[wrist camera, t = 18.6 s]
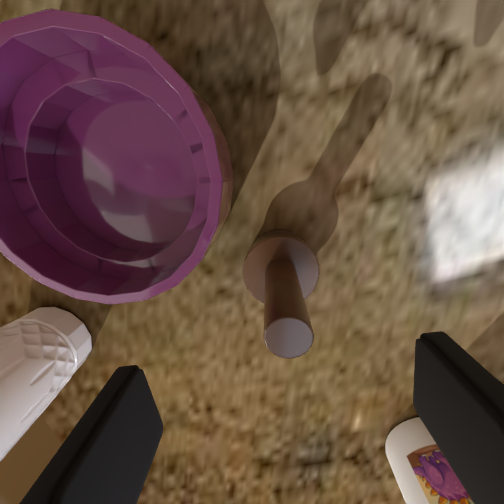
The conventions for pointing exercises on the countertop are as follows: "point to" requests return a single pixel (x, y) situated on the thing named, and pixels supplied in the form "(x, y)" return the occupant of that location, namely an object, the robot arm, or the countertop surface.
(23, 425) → the white cup
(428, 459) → the milk bottle
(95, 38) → the bowl
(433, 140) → the countertop surface
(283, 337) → the dish brush
